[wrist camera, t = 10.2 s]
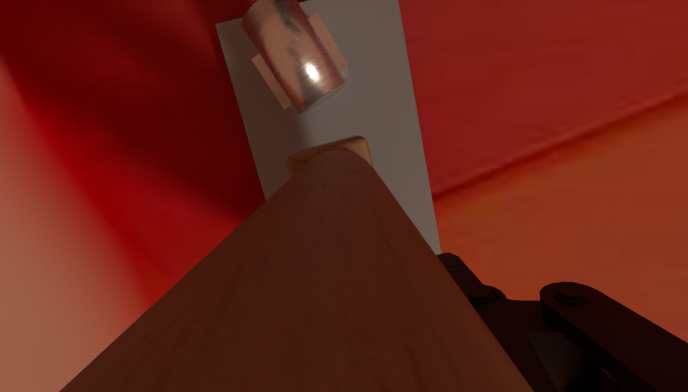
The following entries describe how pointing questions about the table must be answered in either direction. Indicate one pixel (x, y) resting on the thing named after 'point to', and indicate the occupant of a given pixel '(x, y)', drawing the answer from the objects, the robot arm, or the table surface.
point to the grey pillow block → (294, 54)
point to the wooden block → (312, 302)
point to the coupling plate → (342, 104)
